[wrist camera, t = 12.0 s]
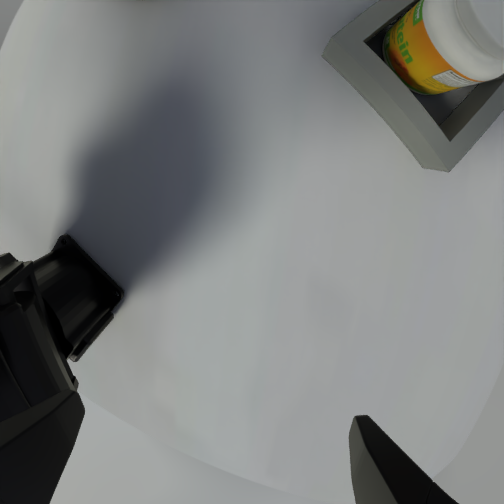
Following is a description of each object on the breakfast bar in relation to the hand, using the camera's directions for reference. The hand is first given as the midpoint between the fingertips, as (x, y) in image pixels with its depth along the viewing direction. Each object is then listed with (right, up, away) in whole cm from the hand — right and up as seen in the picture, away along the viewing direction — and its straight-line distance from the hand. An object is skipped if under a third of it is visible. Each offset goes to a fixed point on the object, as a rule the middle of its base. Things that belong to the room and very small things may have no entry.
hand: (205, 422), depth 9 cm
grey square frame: (+12, +17, +8) cm, 22 cm away
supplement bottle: (+12, +18, +8) cm, 23 cm away
